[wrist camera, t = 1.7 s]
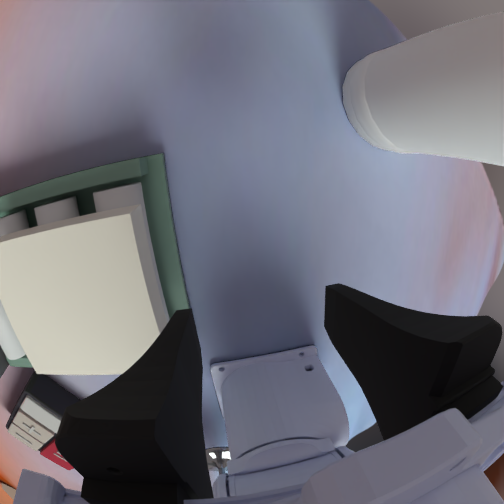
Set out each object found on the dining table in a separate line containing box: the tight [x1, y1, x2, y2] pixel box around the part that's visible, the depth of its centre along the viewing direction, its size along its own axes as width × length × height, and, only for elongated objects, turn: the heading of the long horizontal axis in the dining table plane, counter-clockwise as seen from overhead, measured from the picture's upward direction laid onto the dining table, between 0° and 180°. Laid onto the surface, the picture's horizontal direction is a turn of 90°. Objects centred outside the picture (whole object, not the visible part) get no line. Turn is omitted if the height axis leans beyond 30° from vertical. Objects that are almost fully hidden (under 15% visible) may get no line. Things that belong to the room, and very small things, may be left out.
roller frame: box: [0, 153, 190, 378], centre depth 15 cm, size 20×14×7 cm
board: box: [0, 204, 167, 375], centre depth 14 cm, size 10×9×2 cm
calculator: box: [6, 371, 81, 470], centre depth 22 cm, size 11×4×15 cm
